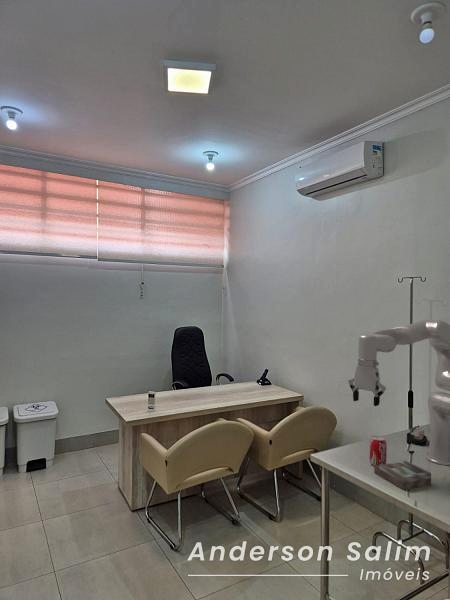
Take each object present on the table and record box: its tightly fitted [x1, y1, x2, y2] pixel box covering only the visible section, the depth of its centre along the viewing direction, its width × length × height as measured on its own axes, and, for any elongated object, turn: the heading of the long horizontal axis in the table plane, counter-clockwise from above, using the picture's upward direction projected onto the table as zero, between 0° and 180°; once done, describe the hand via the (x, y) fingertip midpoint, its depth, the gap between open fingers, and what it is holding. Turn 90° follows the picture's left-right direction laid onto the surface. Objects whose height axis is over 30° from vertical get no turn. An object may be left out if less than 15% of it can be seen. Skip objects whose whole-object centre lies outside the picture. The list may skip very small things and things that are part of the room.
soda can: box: [369, 435, 387, 466], centre depth 176 cm, size 7×7×12 cm
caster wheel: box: [409, 424, 428, 447], centre depth 207 cm, size 7×11×10 cm
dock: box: [373, 460, 432, 491], centre depth 161 cm, size 14×16×5 cm
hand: (365, 403), depth 170 cm, fingers open, 9 cm apart
